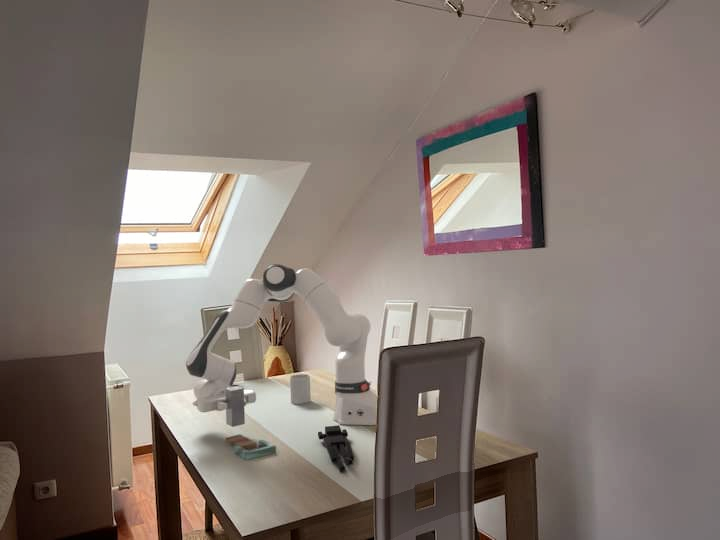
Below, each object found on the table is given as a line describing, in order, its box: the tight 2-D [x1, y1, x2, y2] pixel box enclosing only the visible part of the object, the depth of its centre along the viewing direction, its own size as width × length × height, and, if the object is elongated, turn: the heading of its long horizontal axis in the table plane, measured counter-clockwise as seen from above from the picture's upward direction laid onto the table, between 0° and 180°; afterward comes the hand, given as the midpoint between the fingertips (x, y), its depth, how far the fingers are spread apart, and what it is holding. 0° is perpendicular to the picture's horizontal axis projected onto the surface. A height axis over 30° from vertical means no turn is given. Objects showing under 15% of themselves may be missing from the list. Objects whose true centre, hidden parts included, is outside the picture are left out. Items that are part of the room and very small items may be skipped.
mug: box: [289, 373, 312, 405], centre depth 235 cm, size 12×8×11 cm
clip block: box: [225, 386, 246, 428], centre depth 182 cm, size 4×4×12 cm
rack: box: [225, 433, 277, 461], centre depth 177 cm, size 20×10×2 cm, turn 38°
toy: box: [317, 424, 355, 473], centre depth 168 cm, size 10×5×30 cm
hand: (236, 405), depth 182 cm, fingers closed on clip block, 4 cm apart
